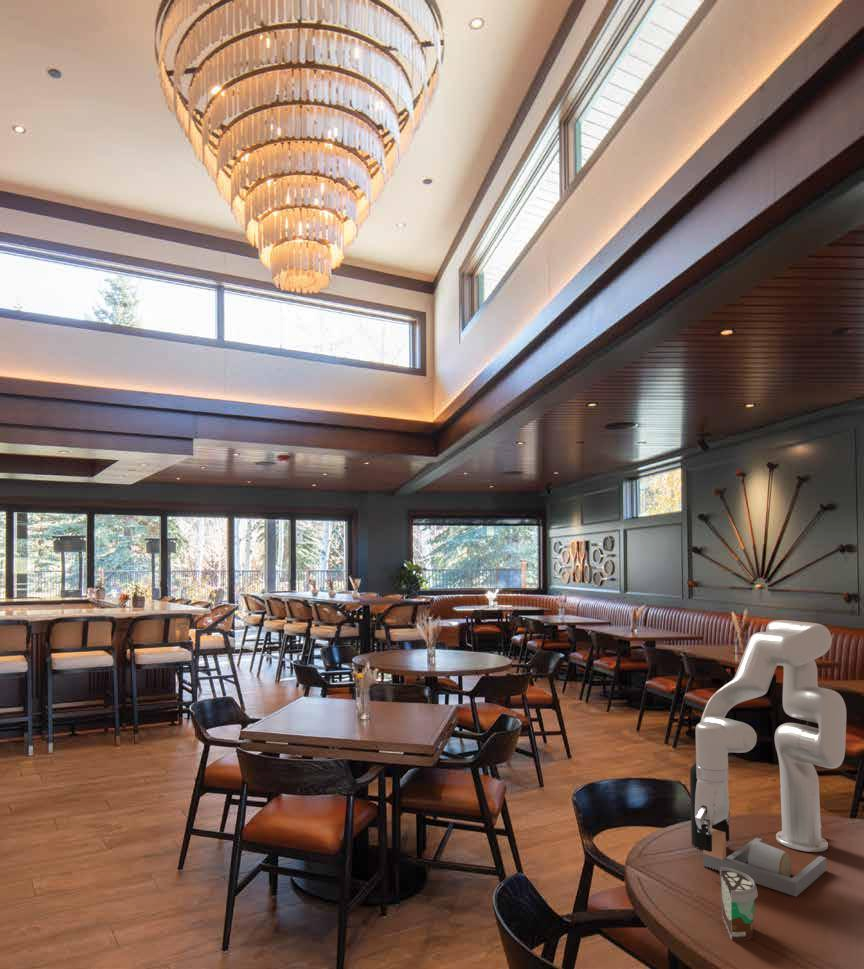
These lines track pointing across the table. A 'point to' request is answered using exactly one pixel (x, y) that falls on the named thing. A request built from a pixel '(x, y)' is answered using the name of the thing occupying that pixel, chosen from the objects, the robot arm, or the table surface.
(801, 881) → the pull frame
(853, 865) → the table surface
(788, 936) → the table surface
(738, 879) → the food container
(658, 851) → the table surface
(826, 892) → the table surface
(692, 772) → the wine bottle
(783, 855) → the ceramic mug
